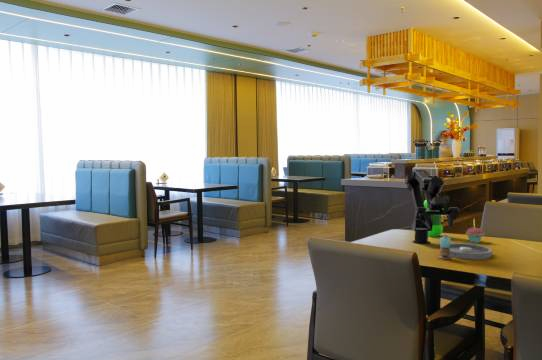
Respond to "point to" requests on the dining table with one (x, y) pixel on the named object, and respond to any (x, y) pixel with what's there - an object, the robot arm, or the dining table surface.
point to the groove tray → (469, 251)
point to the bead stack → (445, 248)
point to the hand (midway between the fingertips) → (440, 228)
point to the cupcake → (475, 234)
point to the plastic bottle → (435, 223)
